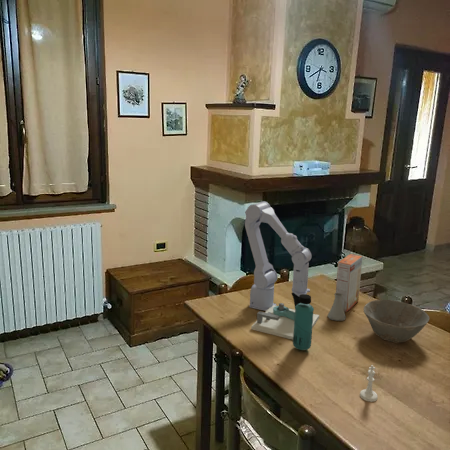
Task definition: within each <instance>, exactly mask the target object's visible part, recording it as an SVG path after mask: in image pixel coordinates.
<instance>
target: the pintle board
mask: <svg viewBox="0 0 450 450" xmlns="http://www.w3.org/2000/svg"><path fill="white" fill-rule="evenodd" d="M276 306H277V304H276V305H273V306H272V307H270V308H269V309H268V310H267V311H265V312H263V311H261V310H260V311H257V313H256V321H254V323H253V324H252V325H251V329H250V330H254V331H257V332H261V333H265V334H268V335H269V334H270V335H272V336H277V337H280V338H284V339H289V340H292V341H293V335H294V332H293V331H294V330H293V329H294V320H293V319H290V318H288V317H285V316H278V315H275V314H274V312H273V308H274V307H276ZM278 306H279V311H284V306H285V303H283V302H280V303H278ZM289 310H290V311H293V312H295V308H293V309H292V308H289ZM319 319H320V314H315V313H313V324H312V329H313V328H314V327H315V325H316V323H317V322H318V321H319Z"/></svg>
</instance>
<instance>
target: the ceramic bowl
mask: <svg viewBox="0 0 450 450" xmlns="http://www.w3.org/2000/svg"><path fill="white" fill-rule="evenodd" d="M363 313H364V315H365V317H366V318H367V319H368V320H367V321H368V322H369V324H370V327H371V329H372V332H374V334H376V335H377V336H378V337H379V338H381V339H382V340H385V341H389V342H392V343H406V342H407V341H409V340H411V339H412V338H414V337H415V336H417V335H418V334H419V333H420V332H421V331H422V330H423V329H424V328H425V326H426V325H427V324H428V322H429V321H430V316H429V314H428V313H427V312H426V311H425V310H424V309H422V308H421V307H418V306H415V305H413V304H410V303H407V302H404V301H400V300H399V301H398V300H394V299H393V300H392V299H375V300H371V301H369V302H367V303H366V304H365V305H364V306H363Z"/></svg>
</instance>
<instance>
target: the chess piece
mask: <svg viewBox="0 0 450 450" xmlns="http://www.w3.org/2000/svg"><path fill="white" fill-rule="evenodd" d="M375 370H376V367H375V366H374V365H373V364H371V365H370V366H369V367H368V370H367V374H368V376H367V377H366V381H367V382H368V383H367V386H366V389H365V388H364V389H362V390H360V392H359V397H360V398H361V399H362V400H364V401H367V402H371V403H372V402H376V401H377V400H378V394H377V392H376V391H374V390H373V382H375V378H374V376H375V375H376V372H375Z"/></svg>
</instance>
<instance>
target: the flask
mask: <svg viewBox="0 0 450 450" xmlns="http://www.w3.org/2000/svg"><path fill="white" fill-rule="evenodd" d="M333 295H334V300H333V304H332V306H331V308H330V310H329V312H328V314H327V318H328V319H329V320H332V321H337V322H339V321H340V322H341V321H345V320H346V318H347V317H346V312H345V311H344V310H343V306H342V296H343V294H341V293H336V292H335V293H334V294H333Z"/></svg>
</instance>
